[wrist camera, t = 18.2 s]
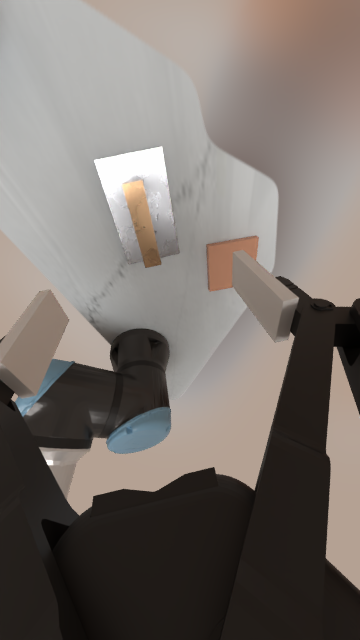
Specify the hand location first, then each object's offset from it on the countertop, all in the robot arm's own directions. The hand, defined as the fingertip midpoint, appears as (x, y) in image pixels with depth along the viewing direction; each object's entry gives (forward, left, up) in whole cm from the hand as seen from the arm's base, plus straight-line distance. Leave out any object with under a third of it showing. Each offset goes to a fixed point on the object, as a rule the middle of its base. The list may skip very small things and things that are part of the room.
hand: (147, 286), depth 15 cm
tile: (-7, -16, -25) cm, 31 cm away
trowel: (0, 0, -26) cm, 26 cm away
